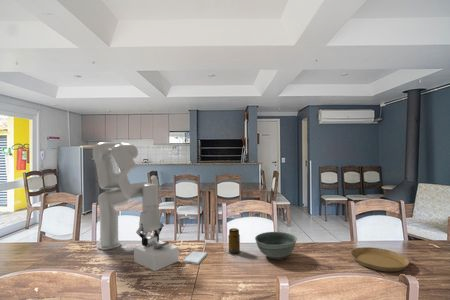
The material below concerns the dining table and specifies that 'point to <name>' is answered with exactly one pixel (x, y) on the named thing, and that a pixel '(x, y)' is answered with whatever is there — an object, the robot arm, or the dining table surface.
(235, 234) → the condiment
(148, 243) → the pin
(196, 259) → the hard drive
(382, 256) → the plant saucer
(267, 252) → the bowl
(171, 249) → the block
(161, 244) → the latch bar
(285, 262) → the dining table surface
